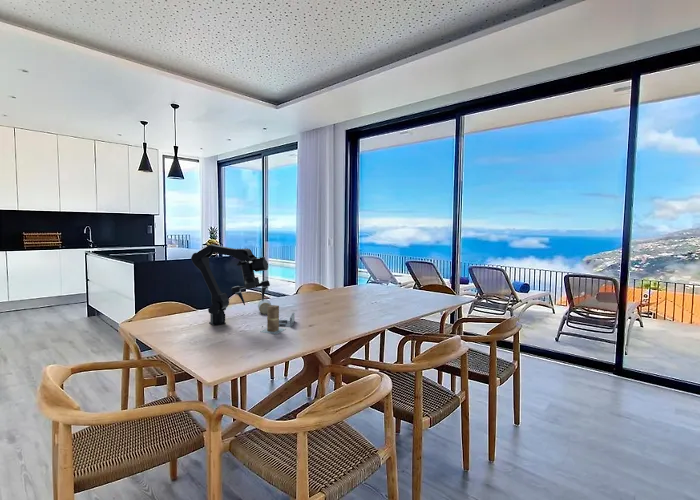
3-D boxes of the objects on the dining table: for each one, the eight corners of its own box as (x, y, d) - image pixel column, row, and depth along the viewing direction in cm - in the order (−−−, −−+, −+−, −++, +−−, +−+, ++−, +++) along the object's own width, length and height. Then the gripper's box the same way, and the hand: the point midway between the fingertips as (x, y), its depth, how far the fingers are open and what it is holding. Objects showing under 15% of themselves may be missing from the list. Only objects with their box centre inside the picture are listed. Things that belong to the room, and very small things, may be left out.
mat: (259, 332, 178) (259, 331, 178) (270, 327, 187) (270, 326, 187) (276, 334, 175) (276, 333, 175) (285, 330, 184) (285, 329, 184)
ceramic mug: (258, 315, 212) (259, 301, 212) (257, 311, 220) (258, 299, 220) (277, 314, 216) (277, 301, 215) (275, 311, 223) (276, 298, 223)
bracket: (274, 327, 187) (274, 317, 187) (278, 321, 199) (278, 312, 199) (291, 327, 188) (291, 318, 187) (294, 321, 200) (294, 312, 199)
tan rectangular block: (267, 330, 180) (267, 306, 179) (271, 328, 184) (271, 304, 183) (274, 331, 178) (274, 307, 177) (278, 329, 182) (279, 305, 181)
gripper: (228, 277, 178) (234, 309, 178) (267, 270, 183) (273, 301, 183) (229, 276, 188) (235, 306, 189) (266, 269, 193) (271, 298, 194)
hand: (253, 303), depth 188 cm, fingers open, 9 cm apart
